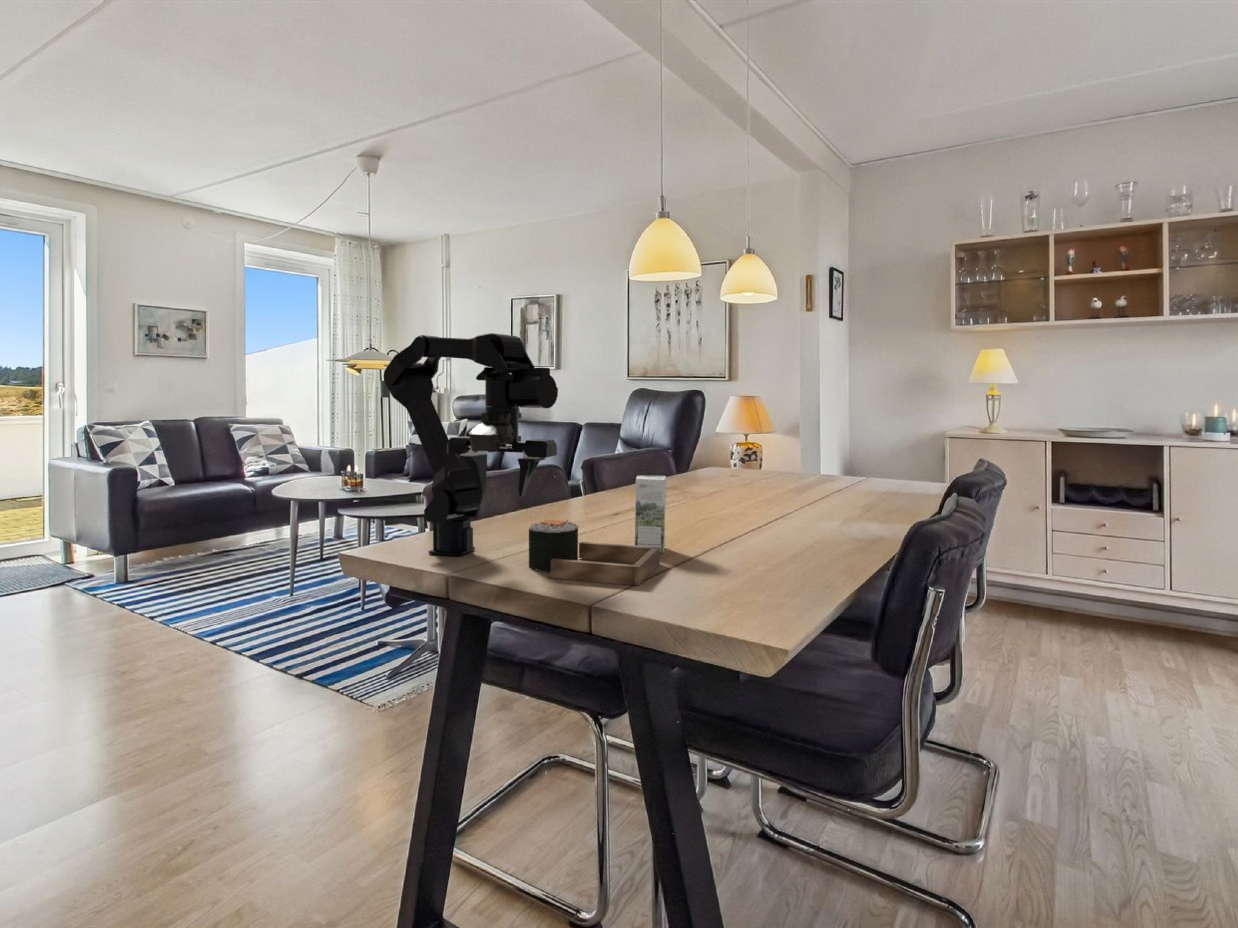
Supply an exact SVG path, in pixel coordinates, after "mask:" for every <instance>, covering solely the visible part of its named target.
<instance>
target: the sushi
mask: <svg viewBox="0 0 1238 928" xmlns="http://www.w3.org/2000/svg"><path fill="white" fill-rule="evenodd" d="M579 526H580V525H578V524H577V523H576V522H572V521H569V519H566V520H560V519H553V518H550V519H547V520H543V521H542V520H540V522H534V523H532V524H531V525H530V526H528V568H529V569H530V568H532V569H531V570H533V569H537V570H536V571H540V570H541V571H542V572H549V571H551V560H552V559H553V558H554V559H567V560H579Z"/></svg>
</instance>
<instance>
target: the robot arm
mask: <svg viewBox="0 0 1238 928" xmlns="http://www.w3.org/2000/svg"><path fill="white" fill-rule="evenodd" d="M423 358H426V359H425V361H424V362H423V363H422V362H420V361H421V360H422V359H423ZM441 358H449V359H451V358H452V359H461V360H462V359H466V360H470V361H473V362H474V363H475V364H479V365H482V366H484V368H483V370H482V371H481V372H479V373H478V374H477V375H476V377H475V379H476V380H477V381H484V382H485V386H484V387H485V394H484V395H485V400H484V401H485V404H484V405H485V409H484V410H485V412H482V413H481V421H480V423H479V424H477V425H476V426H475V427H473V428H472V429H471V430H470V431H469V432H468V435H469V436H454V437H453V436H452V437H450V438H449V437H448V435H447V433H446V430H445V428H444V426H443V423H442V421H441V419H440V417H439V415H438V412H437V409H436V407H435V405H434V403H433V400H432V397H433V393H434V392H433V391H434V383H433V380H432V379H433V378H434V377H435V375H437V373H438V371H439V365H440V364H439V363H440V360H441ZM383 382H384V385H385V386H386V388H387V390H388V391H389V393H390V394H391V397H392V398H393V399H394V400H396V401H397V402H398V403H399V404H400V405H402V406H403V407H404V408H405V409H406V411H407V413H408V416H409V418H410V421H411V423H412V425H413V427H414V430H415V432H416V434H417V437H418V440H419V442H420V444H421V446H422V448H423V451H424V453H425V456H426V458H427V460H428V463H429V465H430V467H431V469H432V472H433V479H432V485H431V492H432V494H433V495H432V496H433V498H432V499H431V501H429V503H428V505H427V506H425V509H424V510H423V513H424V518H425V521H426V522H427V523H428V522H429V523H432V548H433V549H431V550H428V554H430V555H442V556H451V557H452V556H453V557H460V556H463V555H466V554H468V553H470V552H472V551H474V550H475V549H476V547H475V546H474V528H473V527H472V525H471V524H472V523H471V521H472V520H471V519H476V518H477V517H478V514H479V511H480V510H479V509H480V507H481V503H482V499H483V496H484V495H486V488H487V475H488V474H487V470H488V467H487V466H488V453H495V452H499V453H520V454H521V453H522V456H523V457H520V458H517V462H518V465H519V476H518V477H519V479H518V496H519V497H520V498H522V497H524V496H525V494H526V491H527V488H528V486H529V484H530V482H531V479H532V477H533V474H534V472H535V470H536V469H537V467H538V465H539V463H540V462H541V461H545V460H546V458H550V457H554V456H557V455H558V445H557V442H556V441H555V440H554V439H549V438H547V439H545V438H544V439H543V438H532V439H526V440H525V442H522V436H521V435H519V419H522V412H520V411H519V408H527V409H528V408H529V409H550V408H552V407H553V406H554V404H556V402H557V400H558V396H559V387H558V386H557V384H556V381H555V379H554V377H553V376H552V375H551V368H550V367H542V366H541V367H535V365H534V363H533V361H532V360H531V358H530V356H529V355H528V353H527V351H526V349H525V346H524V343H523V341H522V340H521V338H520V337H519V336H517V335H512V334H511V335H510V334H503V333H492V332H489V333H484V334H479V335H476V336H474V337H472V338H471V337H470V338H461V337H458V338H457V337H440V336H433V335H424V334H422V335H419V336H416V337H415V338H414V339H413V341H412V342H411V344H410V345H408V346H407V347H405V348H404V349H403V350H401V351H399V352H398V353H396V354H395V355H394V356H393V358H392V359H391V361H390V362H389V363H388V365H387V366H386V368H385V369H384V372H383ZM482 452H488V453H482ZM456 455H458V458H459V460H463V461H464V462H465V463H466V464H467V465H468V466H469V467H467V468H465V467H463V465H461V464H460V462H459V460H458V458H457V456H456Z"/></svg>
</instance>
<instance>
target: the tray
mask: <svg viewBox="0 0 1238 928" xmlns="http://www.w3.org/2000/svg"><path fill="white" fill-rule="evenodd" d="M660 556H661V553H660V547H648V546H635V544H633V545H632V544H619V543H606V542H605V543H602V542H593V541H592V542H590V541H589V542H588V541H580V542H578V560H567V559H554V558H553V559H552V560H551V572H550V578H551V579H555V578H564V579H563V580H567V579H571V580H570V581H578V580H582V581H581V582H589V581H594V582H593V583H600V584H601V583H603V584H612V583H613V585H623V584H626V586H635V587H639V586H640V585H641V584H642V583H643V582H644V581H645V580H646V579H647V578H648V577H649V576H650V575H651V573H652V572H653V571H654V570H656V568H657V567H658V566H659V565H660V562H661V560H660V559H661V557H660ZM579 558H582V559H581V560H580V559H579ZM584 559H589V560H584ZM597 560H599V561H597ZM609 561H612V562H609Z"/></svg>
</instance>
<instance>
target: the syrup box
mask: <svg viewBox="0 0 1238 928" xmlns="http://www.w3.org/2000/svg"><path fill="white" fill-rule="evenodd" d="M666 496H667V476H666V475H643V474H642V475H637V476H636V478H635V501H634V502H635V505H634V506H635V510H634V515H635V517H634V518H635V519H634V521H635V522H634V546H648V547H660V554H664V553H665V546H666V542H665V541H666V539H665V538H666V533H665V532H666V526H665V525H666V502H667V499H666Z"/></svg>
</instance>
